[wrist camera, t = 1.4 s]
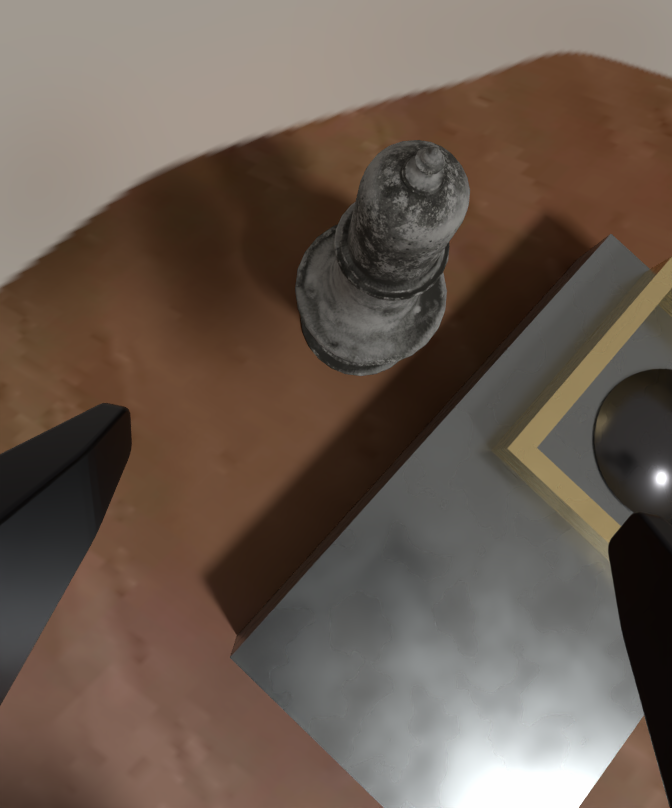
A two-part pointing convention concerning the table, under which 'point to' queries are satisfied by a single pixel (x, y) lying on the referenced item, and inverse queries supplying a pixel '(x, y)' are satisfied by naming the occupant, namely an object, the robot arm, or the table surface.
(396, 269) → the grey tiered ornament
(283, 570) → the table surface
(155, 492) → the table surface
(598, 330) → the grey slab
